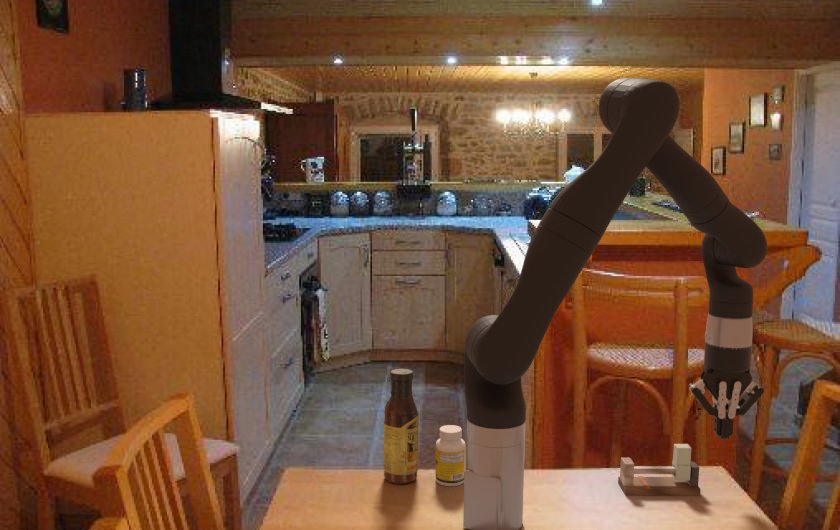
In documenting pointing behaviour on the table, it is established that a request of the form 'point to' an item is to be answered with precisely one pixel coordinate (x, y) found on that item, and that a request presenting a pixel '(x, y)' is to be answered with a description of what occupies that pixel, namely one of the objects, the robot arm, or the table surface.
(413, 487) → the table surface
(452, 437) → the supplement bottle
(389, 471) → the sauce bottle
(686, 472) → the white upright block
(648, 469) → the board
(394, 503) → the table surface
